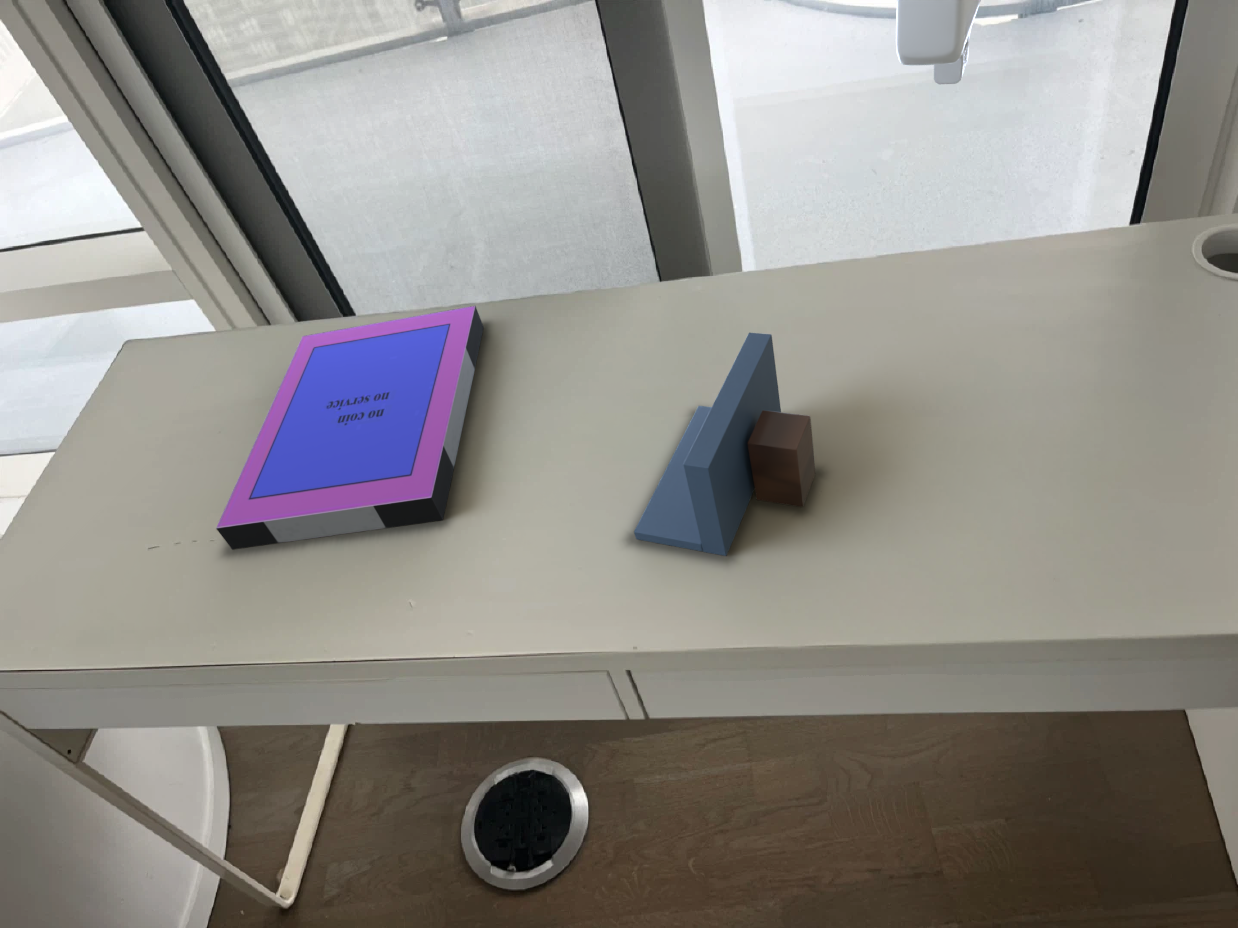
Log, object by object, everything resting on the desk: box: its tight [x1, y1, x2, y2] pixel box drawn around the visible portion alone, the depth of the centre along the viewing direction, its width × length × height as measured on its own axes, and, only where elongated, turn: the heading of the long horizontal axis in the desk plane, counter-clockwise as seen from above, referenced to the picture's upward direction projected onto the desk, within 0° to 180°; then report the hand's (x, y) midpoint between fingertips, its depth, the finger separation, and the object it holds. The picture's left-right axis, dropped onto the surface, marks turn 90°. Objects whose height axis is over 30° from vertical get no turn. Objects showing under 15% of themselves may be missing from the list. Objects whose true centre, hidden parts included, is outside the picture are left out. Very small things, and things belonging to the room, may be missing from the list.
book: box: [215, 305, 484, 550], centre depth 94 cm, size 21×3×30 cm
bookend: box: [633, 332, 782, 557], centre depth 76 cm, size 8×16×10 cm, turn 157°
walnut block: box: [748, 410, 816, 508], centre depth 75 cm, size 7×4×7 cm
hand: (950, 74), depth 62 cm, fingers closed
